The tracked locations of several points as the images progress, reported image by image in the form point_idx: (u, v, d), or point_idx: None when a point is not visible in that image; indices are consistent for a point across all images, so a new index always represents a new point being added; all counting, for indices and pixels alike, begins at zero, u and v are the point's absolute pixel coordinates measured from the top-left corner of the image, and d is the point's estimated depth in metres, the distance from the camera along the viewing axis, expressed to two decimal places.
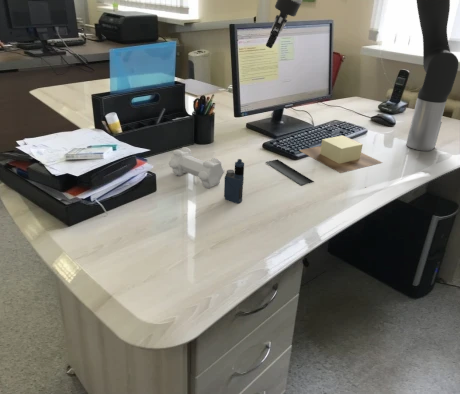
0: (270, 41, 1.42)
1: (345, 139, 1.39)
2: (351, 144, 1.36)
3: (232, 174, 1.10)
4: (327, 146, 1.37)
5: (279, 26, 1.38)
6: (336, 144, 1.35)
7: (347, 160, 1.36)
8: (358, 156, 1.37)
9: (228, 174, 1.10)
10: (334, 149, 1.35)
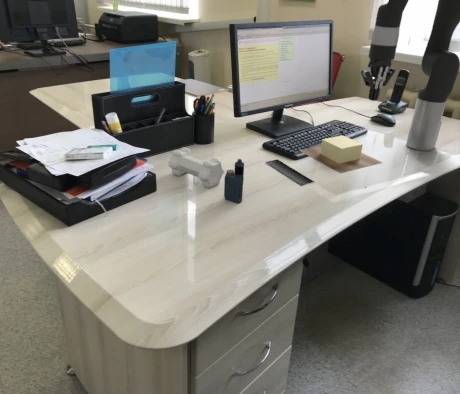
0: (370, 93, 1.35)
1: (345, 139, 1.39)
2: (351, 144, 1.36)
3: (232, 174, 1.10)
4: (327, 146, 1.37)
5: (367, 80, 1.30)
6: (336, 144, 1.35)
7: (347, 160, 1.36)
8: (358, 156, 1.37)
9: (228, 174, 1.10)
10: (334, 149, 1.35)
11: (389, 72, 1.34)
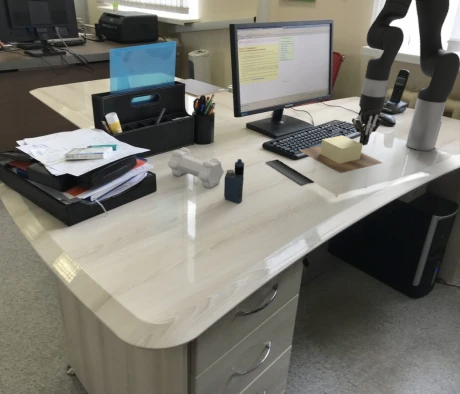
0: (361, 139, 1.42)
1: (345, 139, 1.39)
2: (351, 144, 1.36)
3: (232, 174, 1.10)
4: (327, 146, 1.37)
5: (358, 127, 1.38)
6: (336, 144, 1.35)
7: (347, 160, 1.36)
8: (358, 156, 1.37)
9: (228, 174, 1.10)
10: (334, 149, 1.35)
11: (378, 119, 1.41)
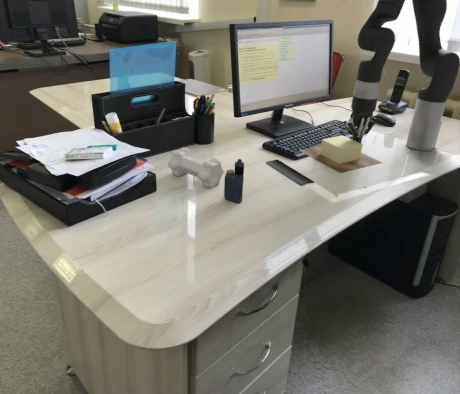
0: None
1: (345, 139, 1.39)
2: (351, 144, 1.36)
3: (232, 174, 1.10)
4: (327, 146, 1.37)
5: (350, 130, 1.36)
6: (336, 144, 1.35)
7: (347, 160, 1.36)
8: (358, 156, 1.37)
9: (228, 174, 1.10)
10: (334, 150, 1.35)
11: (371, 121, 1.39)
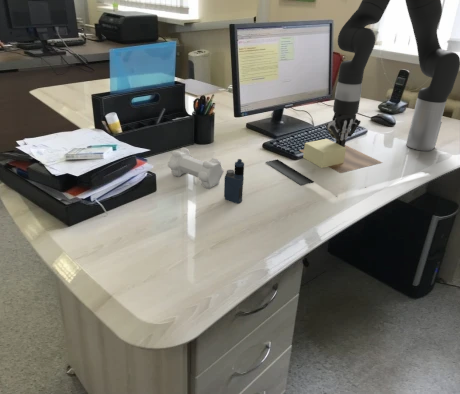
0: None
1: (328, 143, 1.36)
2: (334, 147, 1.32)
3: (232, 174, 1.10)
4: (310, 150, 1.34)
5: (332, 133, 1.33)
6: (319, 148, 1.32)
7: (330, 164, 1.32)
8: (342, 160, 1.34)
9: (228, 174, 1.10)
10: (317, 153, 1.31)
11: (354, 123, 1.36)
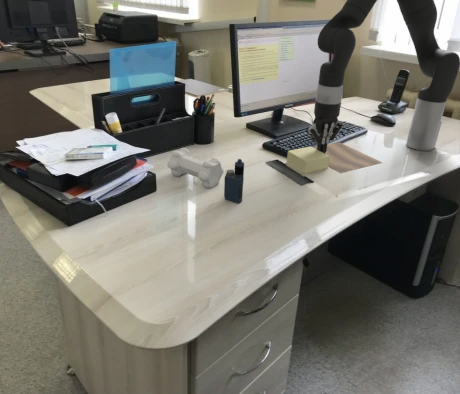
0: (318, 148, 1.33)
1: (312, 151, 1.33)
2: (317, 156, 1.29)
3: (232, 174, 1.10)
4: (293, 158, 1.30)
5: (313, 136, 1.29)
6: (301, 156, 1.28)
7: None
8: None
9: (228, 174, 1.10)
10: (299, 162, 1.28)
11: (336, 127, 1.32)
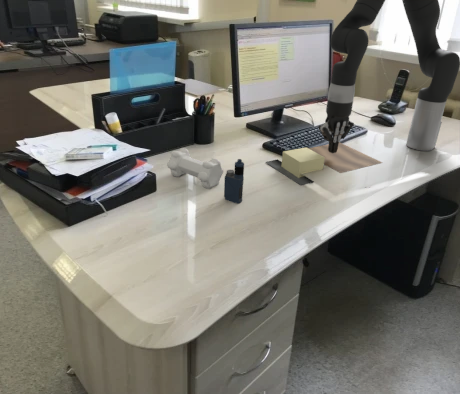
0: (329, 146, 1.35)
1: (307, 152, 1.32)
2: (312, 157, 1.28)
3: (232, 174, 1.10)
4: (287, 159, 1.30)
5: (325, 135, 1.31)
6: (296, 157, 1.28)
7: None
8: None
9: (228, 174, 1.10)
10: (294, 163, 1.27)
11: (347, 125, 1.34)
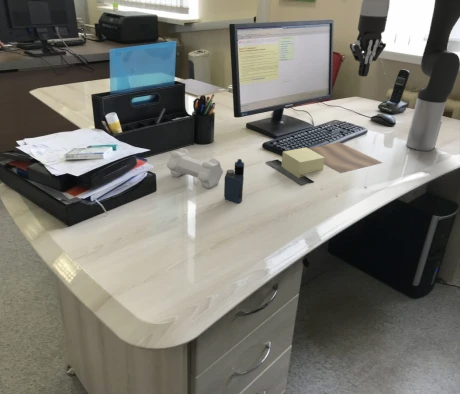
0: (360, 69, 1.28)
1: (307, 152, 1.32)
2: (312, 157, 1.28)
3: (232, 174, 1.10)
4: (287, 159, 1.30)
5: (356, 54, 1.24)
6: (296, 157, 1.28)
7: None
8: None
9: (228, 174, 1.10)
10: (294, 163, 1.27)
11: (379, 46, 1.27)
